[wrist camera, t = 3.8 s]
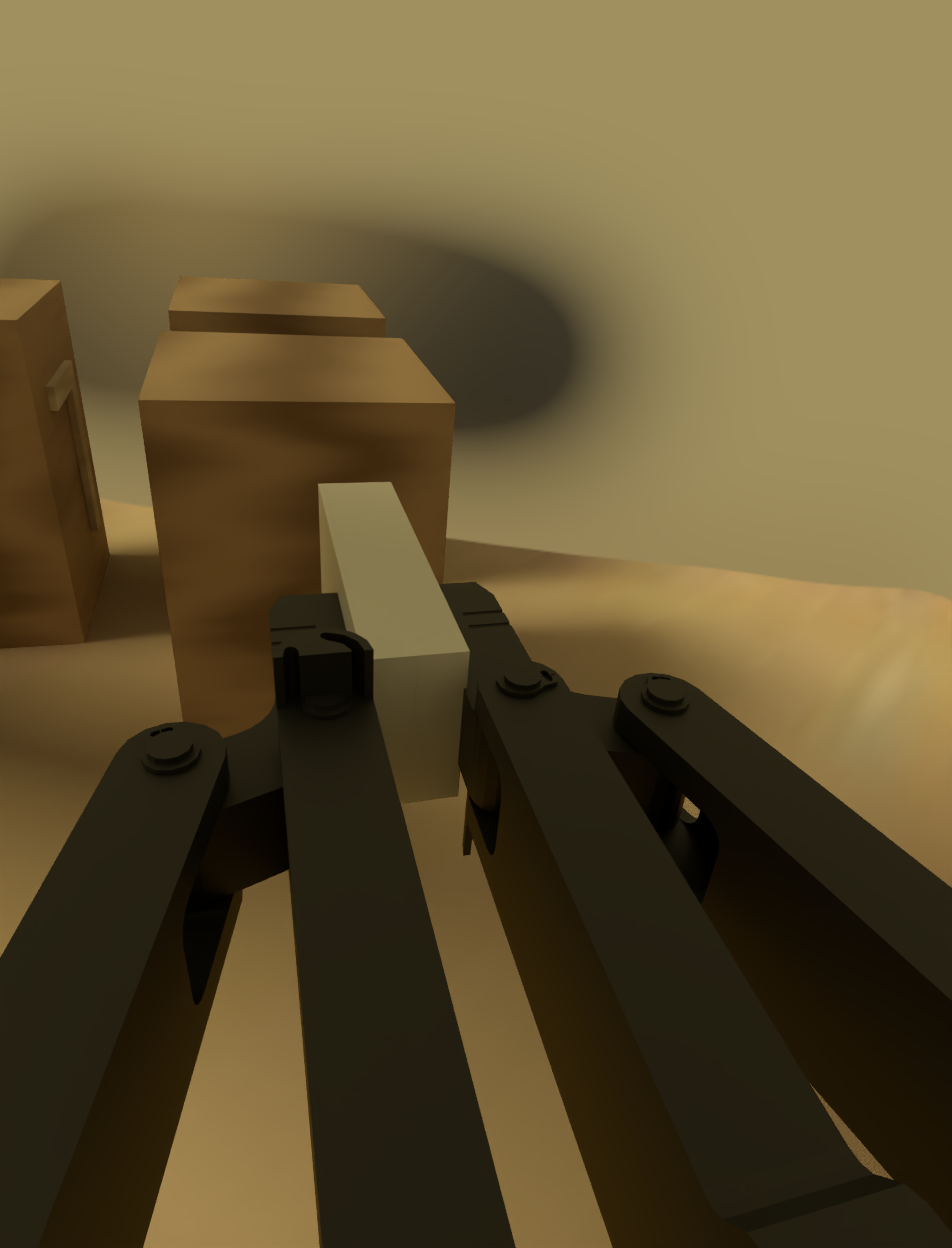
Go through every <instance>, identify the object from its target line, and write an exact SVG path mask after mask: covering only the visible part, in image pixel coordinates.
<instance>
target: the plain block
mask: <svg viewBox="0 0 952 1248" xmlns="http://www.w3.org/2000/svg"><path fill="white" fill-rule="evenodd" d="M138 403H139V411H140V418H141V425H142V431H143V439H144V446H145V453H146V460H147V467H148V474H149V481H150V489H151V495H152V503H153V510H154V517H155V524H156V531H157V538H158V546H159V553H160V560H161V567H162V574H163V581H164V588H165V595H166V602H167V610H168V617H169V624H170V631H171V638H172V645H173V652H174V659H175V666H176V673H177V681H178V688H179V695H180V702H181V709H182V716H183V722H191V723H197V724H203V725H206V726H208V727H210V728H212V729H214V730H215V731H217V732H219V733H220V735H221V737H222V738H225V737H229V736H232V735H235V734H237V733H240V732H242V731H245V730H247V729H250V728H251V727H253V726H254V725H256V724H257V723H259V722H261V721H262V720H263V719H264V718H265V717H266V716H267V715H268V714H269V713H270V711H271V709H272V708H273V706H274V703H275V689H274V676H273V662H272V649H271V635H270V622H269V611H270V609H271V608H272V606H273V605H274V604H275V602H276V601H277V599H278V598H279V597H280V596H288V595H304V594H320V593H322V586H321V556H320V525H319V495H318V484H325V483H365V482H391V483H392V485H393V488H394V490H395V492H396V494H397V496H398V498H399V500H400V503H401V505H402V507H403V509H404V511H405V513H406V515H407V518H408V520H409V522H410V524H411V526H412V528H413V530H414V533H415V535H416V537H417V539H418V541H419V543H420V545H421V548H422V550H423V552H424V554H425V556H426V558H427V560H428V563H429V565H430V567H431V569H432V571H433V573H434V575H435V578H436V580H437V582H438V584H443V570H444V556H445V542H446V527H447V512H448V499H449V484H450V470H451V455H452V442H453V428H454V413H455V402H454V401H453V400H452V399H451V398H450V396H449V395H448V394H447V393H446V391H445V390H444V389H443V388H442V387H441V385H440V384H439V383H438V382H437V381H436V379H435V378H434V377H433V376H432V374H431V373H430V372H429V371H428V369H427V368H426V367H425V366H424V365H423V363H422V362H421V361H420V360H419V358H418V357H417V356H416V355H415V354H414V352H413V351H412V350H411V349H410V347H409V346H408V345H407V344H406V343H405V341H404V340H403V339H401V338H373V337H342V336H311V335H280V334H249V333H219V332H188V331H161V334H160V337H159V340H158V343H157V346H156V349H155V351H154V355H153V357H152V360H151V363H150V366H149V369H148V372H147V375H146V378H145V381H144V384H143V387H142V390H141V393H140V396H139V399H138Z"/></svg>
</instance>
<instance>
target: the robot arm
mask: <svg viewBox="0 0 952 1248" xmlns="http://www.w3.org/2000/svg"><path fill="white" fill-rule="evenodd" d="M318 495H319V525H320V556H321V586H322V593H320V594H304V595H288V596H280V597H279V598H278V599H277V601H276V602H275V604H274V605H273V606H272V608H271V609H270V611H269V622H270V635H271V649H272V662H273V676H274V689H275V703H274V706H273V708H272V709H271V711H270V713H269V714H268V715H267V716H266V717H265V718H264V719H263V720H262V721H261V722H259V723H257V724H256V725H254V726H253V727H251V728H250V729H247V730H245V731H242V732H240V733H237V734H235V735H232V736H229V737H225V738H222V737H221V735H220V733H219V732H217V731H215V730H214V729H212V728H210V727H208V726H206V725H203V724H197V723H191V722H176V723H165V724H162V725H159V726H155V727H152V728H149V729H145V730H144V731H142V732H140V733H139V734H137V735H135V736H134V737H132V738H130V739H128V740H127V742H126V743H125V744H124V745H123V746H122V747H121V748H120V749H119V751H118V752H117V753H116V755H115V756H114V758H113V760H112V762H111V763H110V765H109V767H108V769H107V771H106V772H105V774H104V776H103V778H102V779H101V781H100V783H99V785H98V786H97V788H96V790H95V792H94V793H93V795H92V797H91V799H90V800H89V802H88V804H87V806H86V808H85V809H84V811H83V813H82V815H81V816H80V818H79V820H78V822H77V823H76V825H75V827H74V829H73V830H72V832H71V834H70V836H69V837H68V839H67V841H66V843H65V845H64V846H63V848H62V850H61V852H60V853H59V855H58V857H57V859H56V860H55V862H54V864H53V866H52V867H51V869H50V871H49V873H48V875H47V876H46V878H45V880H44V882H43V883H42V885H41V887H40V889H39V890H38V892H37V894H36V896H35V897H34V899H33V901H32V903H31V904H30V906H29V908H28V910H27V912H26V913H25V915H24V917H23V919H22V920H21V922H20V924H19V926H18V927H17V929H16V931H15V933H14V934H13V936H12V938H11V940H10V942H9V943H8V945H7V947H6V949H5V950H4V952H3V954H2V956H1V957H0V1248H143V1246H144V1242H145V1239H146V1235H147V1232H148V1228H149V1225H150V1221H151V1218H152V1214H153V1211H154V1207H155V1204H156V1200H157V1196H158V1193H159V1189H160V1186H161V1182H162V1179H163V1175H164V1172H165V1168H166V1165H167V1161H168V1158H169V1154H170V1151H171V1147H172V1144H173V1140H174V1137H175V1133H176V1130H177V1126H178V1123H179V1119H180V1116H181V1112H182V1109H183V1105H184V1102H185V1098H186V1095H187V1091H188V1088H189V1084H190V1081H191V1077H192V1074H193V1070H194V1067H195V1063H196V1060H197V1056H198V1053H199V1049H200V1046H201V1042H202V1039H203V1035H204V1032H205V1028H206V1025H207V1021H208V1018H209V1014H210V1011H211V1007H212V1004H213V1000H214V997H215V993H216V990H217V986H218V983H219V979H220V976H221V972H222V969H223V965H224V962H225V958H226V955H227V951H228V948H229V944H230V941H231V937H232V934H233V930H234V927H235V923H236V920H237V916H238V913H239V909H240V906H241V902H242V891H243V889H245V888H247V887H249V886H252V885H254V884H256V883H258V882H261V881H263V880H265V879H268V878H270V877H272V876H275V875H277V874H279V873H282V872H284V871H286V870H289V880H290V892H291V904H292V916H293V928H294V941H295V953H296V965H297V977H298V989H299V1001H300V1013H301V1026H302V1038H303V1050H304V1062H305V1074H306V1086H307V1098H308V1110H309V1123H310V1135H311V1147H312V1159H313V1171H314V1183H315V1195H316V1208H317V1220H318V1232H319V1244H320V1248H516V1247H515V1244H514V1240H513V1236H512V1232H511V1228H510V1224H509V1220H508V1217H507V1213H506V1209H505V1205H504V1201H503V1197H502V1193H501V1190H500V1186H499V1182H498V1178H497V1174H496V1170H495V1166H494V1162H493V1159H492V1155H491V1151H490V1147H489V1143H488V1139H487V1135H486V1132H485V1128H484V1124H483V1120H482V1116H481V1112H480V1108H479V1105H478V1101H477V1097H476V1093H475V1089H474V1085H473V1081H472V1078H471V1074H470V1070H469V1066H468V1062H467V1058H466V1054H465V1051H464V1047H463V1043H462V1039H461V1035H460V1031H459V1027H458V1024H457V1020H456V1016H455V1012H454V1008H453V1004H452V1000H451V997H450V993H449V989H448V985H447V981H446V977H445V973H444V969H443V966H442V962H441V958H440V954H439V950H438V946H437V942H436V939H435V935H434V931H433V927H432V923H431V919H430V915H429V912H428V908H427V904H426V900H425V896H424V892H423V888H422V885H421V881H420V877H419V873H418V869H417V865H416V861H415V858H414V854H413V850H412V846H411V842H410V838H409V834H408V831H407V827H406V823H405V819H404V815H403V811H402V807H401V804H402V803H410V802H417V801H424V800H432V799H439V798H447V797H454V796H458V789H459V777H460V771H461V774H462V776H463V779H464V782H465V785H466V787H467V801H466V812H465V823H464V835H463V856H465V855H470V853H471V843H472V840H474V843H475V846H476V849H477V852H478V855H479V858H480V861H481V864H482V866H483V869H484V872H485V875H486V878H487V881H488V884H489V887H490V890H491V893H492V896H493V899H494V902H495V904H496V907H497V910H498V913H499V916H500V919H501V922H502V925H503V928H504V931H505V934H506V937H507V940H508V942H509V945H510V948H511V951H512V954H513V957H514V960H515V963H516V966H517V969H518V972H519V975H520V978H521V981H522V983H523V986H524V989H525V992H526V995H527V998H528V1001H529V1004H530V1007H531V1010H532V1013H533V1016H534V1019H535V1021H536V1024H537V1027H538V1030H539V1033H540V1036H541V1039H542V1042H543V1045H544V1048H545V1051H546V1054H547V1057H548V1059H549V1062H550V1065H551V1068H552V1071H553V1074H554V1077H555V1080H556V1083H557V1086H558V1089H559V1092H560V1095H561V1097H562V1100H563V1103H564V1106H565V1109H566V1112H567V1115H568V1118H569V1121H570V1124H571V1127H572V1130H573V1133H574V1135H575V1138H576V1141H577V1144H578V1147H579V1150H580V1153H581V1156H582V1159H583V1162H584V1165H585V1168H586V1171H587V1174H588V1176H589V1179H590V1182H591V1185H592V1188H593V1191H594V1194H595V1197H596V1200H597V1203H598V1206H599V1209H600V1212H601V1214H602V1217H603V1220H604V1223H605V1226H606V1229H607V1232H608V1235H609V1238H610V1241H611V1244H612V1247H613V1248H952V888H951V887H950V886H948V885H947V884H946V883H945V882H943V881H942V880H941V879H940V878H938V877H937V876H936V875H934V874H933V873H932V872H931V871H929V870H928V869H927V868H926V867H924V866H923V865H922V864H920V863H919V862H918V861H917V860H915V859H914V858H913V857H912V856H910V855H909V854H908V853H907V852H905V851H904V850H903V849H901V848H900V847H899V846H898V845H896V844H895V843H894V842H893V841H891V840H890V839H889V838H887V837H886V836H885V835H884V834H882V833H881V832H880V831H879V830H877V829H876V828H875V827H873V826H872V825H871V824H870V823H868V822H867V821H866V820H865V819H863V818H862V817H861V816H859V815H858V814H857V813H856V812H854V811H853V810H852V809H851V808H849V807H848V806H847V805H845V804H844V803H843V802H842V801H840V800H839V799H838V798H837V797H835V796H834V795H833V794H831V793H830V792H829V791H828V790H826V789H825V788H824V787H823V786H821V785H820V784H819V783H817V782H816V781H815V780H814V779H812V778H811V777H810V776H809V775H807V774H806V773H805V772H804V771H802V770H801V769H800V768H798V767H797V766H796V765H795V764H793V763H792V762H791V761H790V760H788V759H787V758H786V757H784V756H783V755H782V754H781V753H779V752H778V751H777V750H776V749H774V748H773V747H772V746H770V745H769V744H768V743H767V742H765V741H764V740H763V739H762V738H760V737H759V736H758V735H756V734H755V733H754V732H753V731H751V730H750V729H749V728H748V727H746V726H745V725H744V724H742V723H741V722H740V721H739V720H737V719H736V718H735V717H734V716H732V715H731V714H730V713H728V712H727V711H726V710H725V709H723V708H722V707H721V706H720V705H718V704H717V703H716V702H715V701H713V700H712V699H711V698H709V697H708V696H707V695H706V694H704V693H703V692H702V691H701V690H699V689H698V688H696V687H695V686H693V685H691V684H690V683H688V682H686V681H684V680H682V679H679V678H676V677H673V676H670V675H665V674H655V673H647V674H639V675H635V676H633V677H631V678H629V679H627V680H625V681H624V682H623V684H622V686H621V687H620V689H619V693H618V698H609V697H600V696H591V695H584V694H579V693H574V692H571V691H570V690H569V688H568V686H567V685H566V683H565V682H564V680H563V679H562V678H561V677H560V676H559V675H558V674H557V673H556V672H555V671H554V670H552V669H550V668H548V667H546V666H544V665H543V664H540V663H536V662H532V661H531V659H530V657H529V656H528V654H527V652H526V650H525V649H524V647H523V645H522V643H521V642H520V640H519V638H518V636H517V635H516V633H515V631H514V630H513V628H512V626H511V625H509V621H508V619H507V617H506V616H505V614H504V613H502V609H501V607H500V605H499V603H498V602H497V600H496V598H495V597H494V595H493V594H492V593H490V592H489V591H487V590H486V589H484V588H483V587H481V586H480V585H479V584H477V583H476V582H468V583H451V584H438V582H437V580H436V578H435V575H434V573H433V571H432V569H431V567H430V565H429V563H428V560H427V558H426V556H425V554H424V552H423V550H422V548H421V545H420V543H419V541H418V539H417V537H416V535H415V533H414V530H413V528H412V526H411V524H410V522H409V520H408V518H407V515H406V513H405V511H404V509H403V507H402V505H401V503H400V500H399V498H398V496H397V494H396V492H395V490H394V488H393V485H392V483H391V482H365V483H325V484H318ZM685 796H686V797H687V798H688V799H689V800H690V801H691V802H692V803H693V804H694V805H695V806H696V807H697V808H698V809H699V810H700V813H699V817H698V818H694V817H693V816H692V815H690V814H689V813H688V812H687V811H686V810H685V809H684V808H683V803H684V800H685ZM810 1084H811V1085H812V1086H813V1087H814V1088H815V1090H816V1091H817V1092H818V1093H819V1094H820V1095H821V1096H822V1098H823V1099H824V1100H825V1101H826V1102H827V1103H828V1105H829V1106H830V1107H831V1108H832V1109H833V1110H834V1111H835V1113H836V1114H837V1115H838V1116H839V1117H840V1118H841V1120H842V1121H843V1122H844V1123H845V1124H846V1125H847V1126H848V1128H849V1129H850V1130H851V1131H852V1132H853V1133H854V1134H855V1136H856V1137H857V1138H858V1139H859V1140H860V1141H861V1143H862V1144H863V1145H864V1146H865V1147H866V1148H867V1149H868V1151H869V1152H870V1153H871V1154H872V1155H873V1156H874V1158H875V1159H876V1160H877V1161H878V1162H879V1163H880V1164H881V1166H882V1167H883V1168H884V1169H885V1170H886V1171H887V1173H888V1174H889V1175H890V1176H891V1177H892V1178H893V1179H894V1180H891V1179H888V1178H885V1177H881V1176H878V1175H875V1174H873V1173H872V1172H870V1171H869V1170H868V1169H867V1168H866V1167H864V1166H863V1165H862V1164H861V1163H860V1162H859V1160H858V1159H857V1158H856V1156H855V1155H854V1154H853V1152H852V1151H851V1150H850V1148H849V1147H848V1145H847V1144H846V1142H845V1140H844V1139H843V1137H842V1136H841V1134H840V1132H839V1131H838V1129H837V1127H836V1126H835V1124H834V1122H833V1121H832V1119H831V1117H830V1116H829V1114H828V1113H827V1111H826V1109H825V1108H824V1106H823V1104H822V1103H821V1101H820V1099H819V1098H818V1096H817V1095H816V1093H815V1091H814V1090H813V1088H812V1086H811V1085H810Z"/></svg>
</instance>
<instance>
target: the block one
mask: <svg viewBox="0 0 952 1248" xmlns="http://www.w3.org/2000/svg"><path fill="white" fill-rule="evenodd" d="M168 312H169V321H170V329H171V331H188V332H219V333H249V334H280V335H311V336H342V337H373V338H385V318H384V316H383V315H382V314H381V313H380V311H379V310H378V309H377V307H376V306H375V305H374V304H373V303H372V301H371V300H370V299H369V298H368V296H367V295H366V294H365V293H364V292H363V290H362V289H361V288H360V287H359V285H346V284H345V285H344V284H326V283H304V282H283V281H263V280H243V279H223V278H202V277H182V276H180V277H179V280H178V283H177V286H176V289H175V292H174V295H173V298H172V301H171V304H170V307H169V310H168Z"/></svg>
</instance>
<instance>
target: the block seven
mask: <svg viewBox="0 0 952 1248" xmlns="http://www.w3.org/2000/svg"><path fill="white" fill-rule="evenodd" d="M108 559H109V549H108V544H107V538H106V532H105V527H104V521H103V516H102V510H101V504H100V499H99V493H98V488H97V482H96V477H95V471H94V466H93V460H92V454H91V448H90V443H89V437H88V432H87V426H86V420H85V416H84V409H83V404H82V398H81V392H80V387H79V381H78V376H77V370H76V364H75V359H74V353H73V348H72V342H71V337H70V331H69V326H68V320H67V314H66V308H65V303H64V297H63V292H62V286H61V281H54V280H32V279H12V278H10V279H9V278H0V649H2V648H17V647H32V646H47V645H63V644H78V643H85V640H86V636H87V633H88V629H89V626H90V622H91V619H92V615H93V611H94V608H95V604H96V601H97V597H98V594H99V590H100V587H101V583H102V580H103V576H104V573H105V569H106V566H107V562H108Z"/></svg>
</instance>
